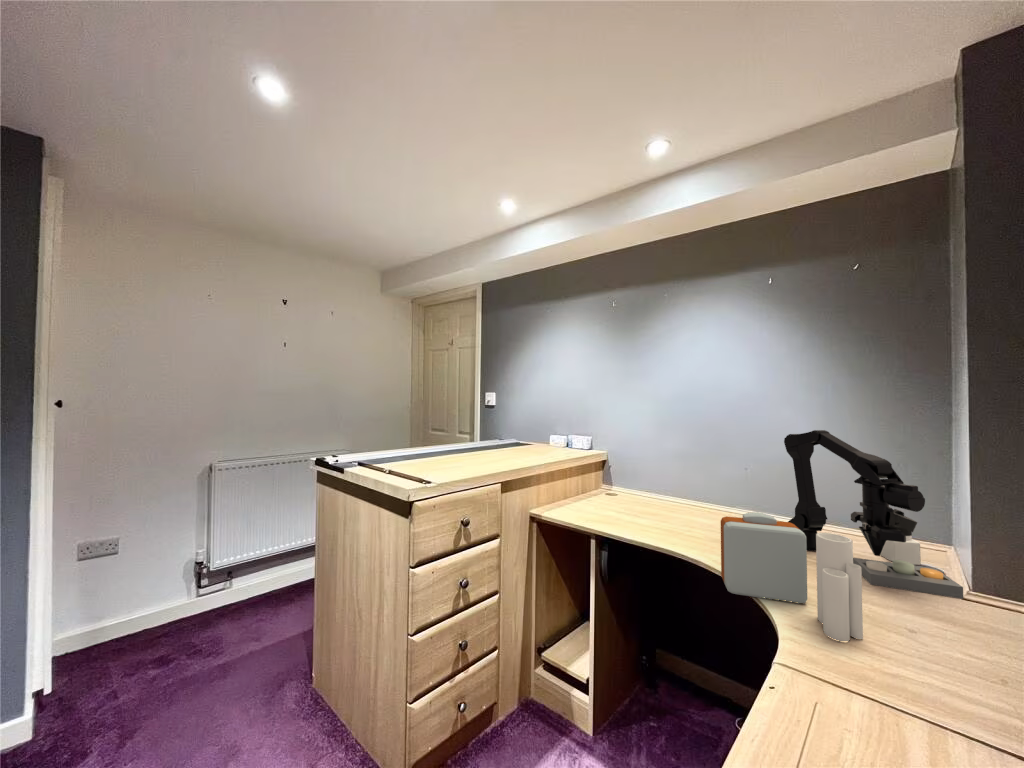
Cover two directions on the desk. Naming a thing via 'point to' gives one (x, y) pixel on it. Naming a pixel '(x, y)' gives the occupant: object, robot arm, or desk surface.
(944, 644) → the desk surface
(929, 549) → the desk surface
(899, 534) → the robot arm
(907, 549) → the medicine bottle
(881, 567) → the button ivory
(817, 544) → the vase
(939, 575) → the button orange
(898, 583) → the grey compartment tray
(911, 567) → the button sage
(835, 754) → the desk surface
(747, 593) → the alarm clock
